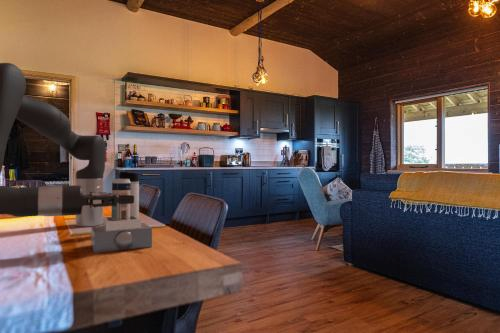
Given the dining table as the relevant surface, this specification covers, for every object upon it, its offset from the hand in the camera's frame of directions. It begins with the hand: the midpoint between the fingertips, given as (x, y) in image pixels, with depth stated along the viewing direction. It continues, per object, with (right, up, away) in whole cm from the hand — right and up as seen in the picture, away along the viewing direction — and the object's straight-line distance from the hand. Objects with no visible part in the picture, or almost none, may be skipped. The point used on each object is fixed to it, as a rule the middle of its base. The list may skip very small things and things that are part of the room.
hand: (131, 198), depth 91 cm
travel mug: (-8, -13, +18) cm, 24 cm away
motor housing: (-2, -13, -1) cm, 13 cm away
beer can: (-2, -7, -1) cm, 7 cm away
